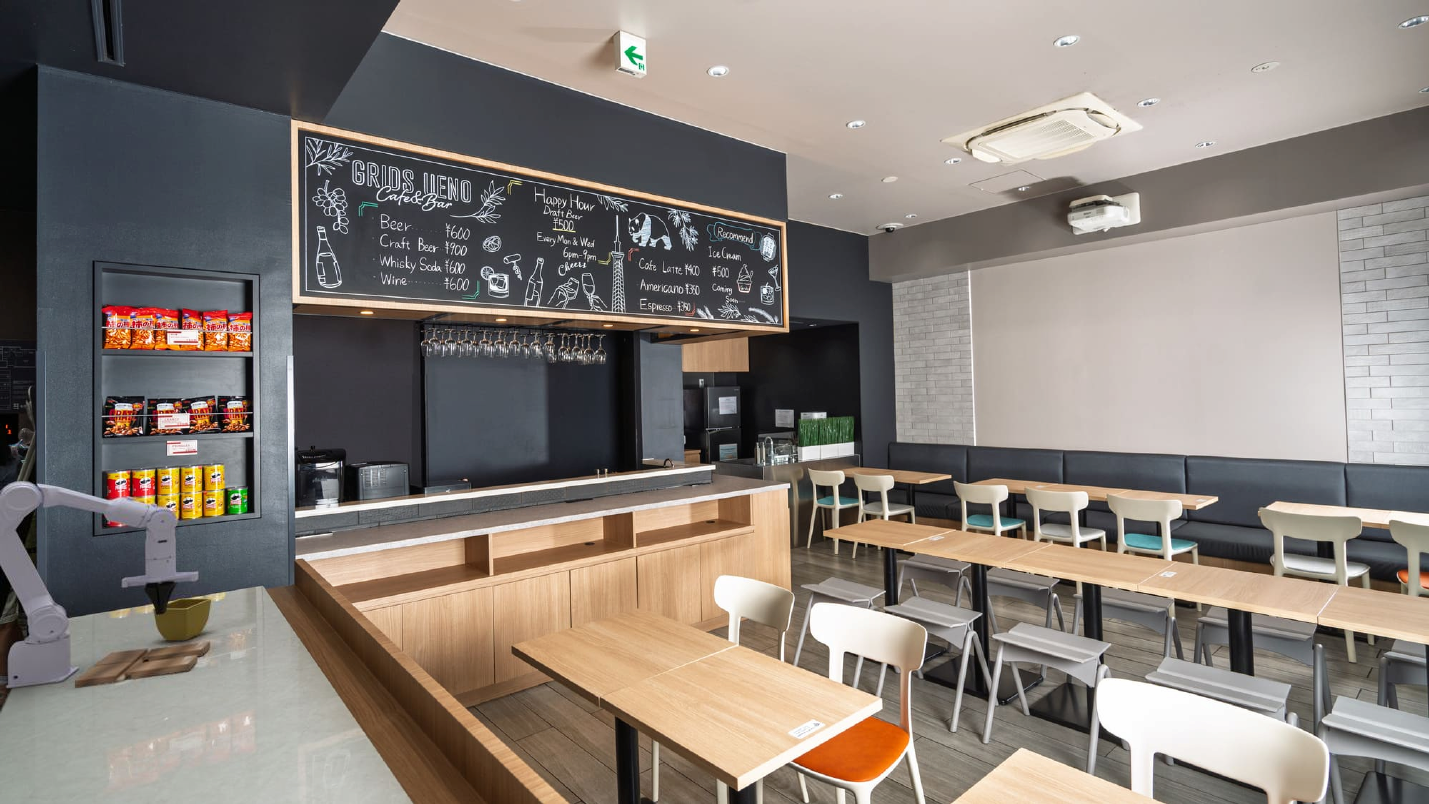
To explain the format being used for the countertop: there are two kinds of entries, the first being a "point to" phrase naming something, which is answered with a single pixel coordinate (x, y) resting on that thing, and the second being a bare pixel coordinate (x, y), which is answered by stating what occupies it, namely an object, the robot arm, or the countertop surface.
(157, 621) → the flower pot
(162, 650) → the plank far
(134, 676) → the plank near
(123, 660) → the laid floor
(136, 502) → the robot arm
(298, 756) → the countertop surface
